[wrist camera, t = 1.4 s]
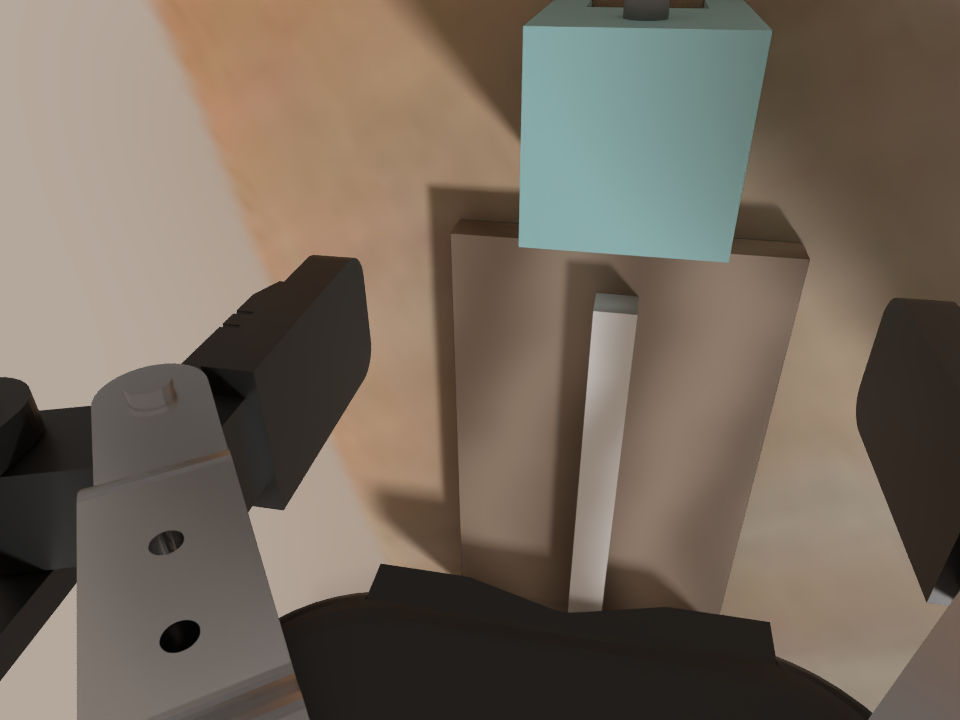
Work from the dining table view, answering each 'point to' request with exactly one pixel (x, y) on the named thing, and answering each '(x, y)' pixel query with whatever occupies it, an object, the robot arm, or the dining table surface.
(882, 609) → the dining table surface
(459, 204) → the dining table surface
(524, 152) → the cabinet block
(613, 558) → the cleat board
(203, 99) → the dining table surface
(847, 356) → the dining table surface
